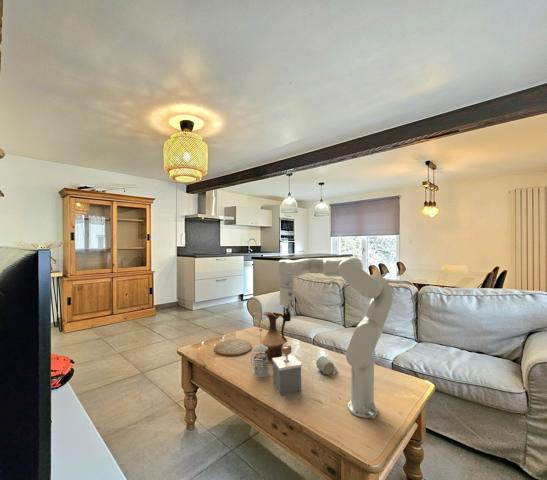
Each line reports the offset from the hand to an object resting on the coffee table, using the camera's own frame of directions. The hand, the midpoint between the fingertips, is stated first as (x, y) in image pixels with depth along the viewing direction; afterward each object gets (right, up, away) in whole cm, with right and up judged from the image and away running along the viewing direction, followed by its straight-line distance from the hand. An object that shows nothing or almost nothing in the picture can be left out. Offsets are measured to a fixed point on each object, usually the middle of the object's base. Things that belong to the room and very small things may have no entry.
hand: (287, 320), depth 143 cm
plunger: (0, -31, +1) cm, 31 cm away
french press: (-14, -34, +16) cm, 40 cm away
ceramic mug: (+23, -33, +17) cm, 44 cm away
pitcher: (-7, -33, +37) cm, 50 cm away
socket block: (-1, -34, +3) cm, 34 cm away
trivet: (-34, -33, +50) cm, 69 cm away
